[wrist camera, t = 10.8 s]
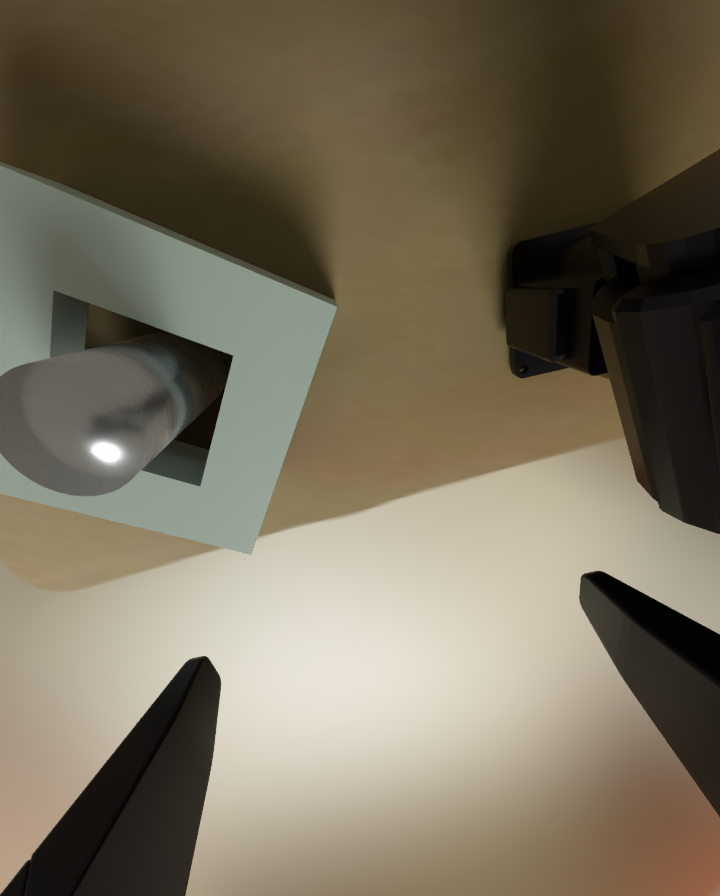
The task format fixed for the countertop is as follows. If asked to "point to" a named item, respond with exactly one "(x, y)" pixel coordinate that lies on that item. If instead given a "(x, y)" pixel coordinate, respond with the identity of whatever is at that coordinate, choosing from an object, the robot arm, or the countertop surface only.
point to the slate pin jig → (173, 310)
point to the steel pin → (104, 410)
